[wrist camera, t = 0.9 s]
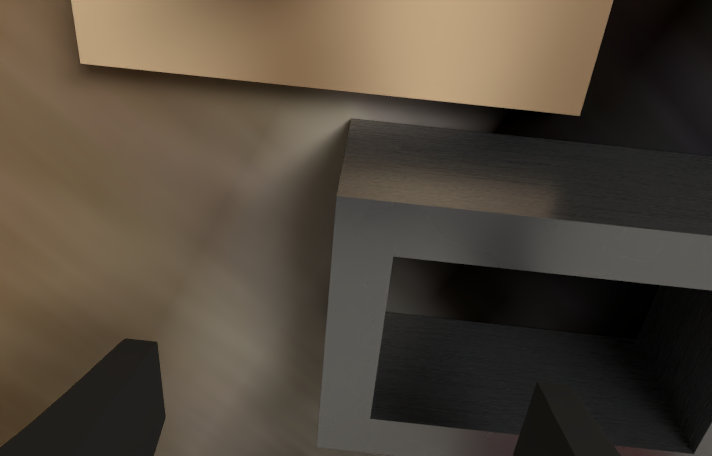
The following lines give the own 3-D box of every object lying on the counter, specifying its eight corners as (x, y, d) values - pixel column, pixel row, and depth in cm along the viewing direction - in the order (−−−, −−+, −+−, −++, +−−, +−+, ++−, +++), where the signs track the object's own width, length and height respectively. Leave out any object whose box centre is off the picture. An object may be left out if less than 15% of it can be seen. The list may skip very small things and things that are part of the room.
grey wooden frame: (764, 161, 15) (876, 253, 11) (663, 373, 18) (724, 492, 15) (351, 118, 15) (336, 195, 11) (332, 338, 18) (316, 447, 15)
